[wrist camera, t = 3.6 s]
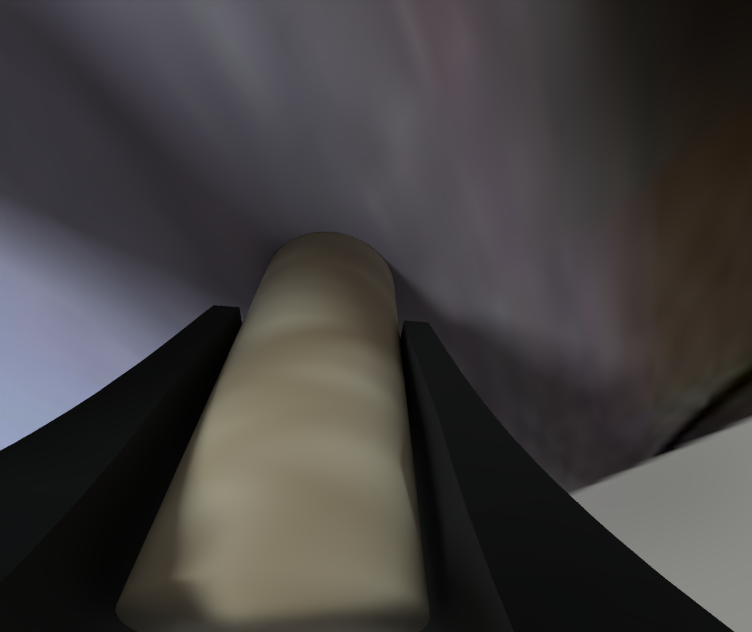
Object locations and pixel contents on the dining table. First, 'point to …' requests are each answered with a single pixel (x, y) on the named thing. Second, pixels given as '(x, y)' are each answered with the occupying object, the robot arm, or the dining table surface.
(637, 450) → the dining table surface
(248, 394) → the beige cylinder
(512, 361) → the dining table surface
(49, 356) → the dining table surface
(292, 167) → the dining table surface
